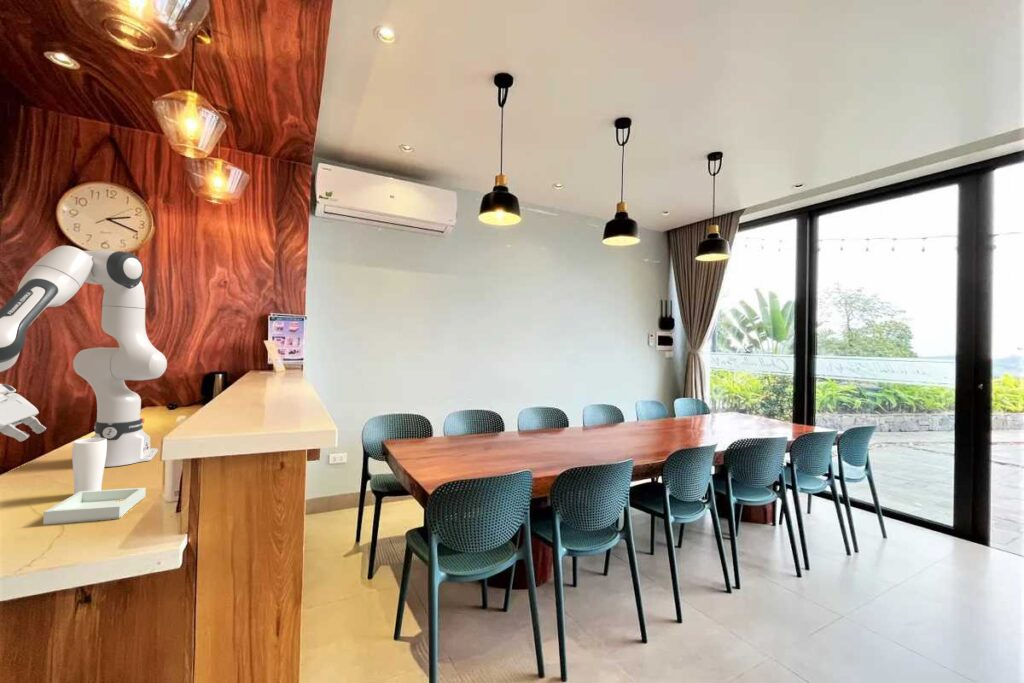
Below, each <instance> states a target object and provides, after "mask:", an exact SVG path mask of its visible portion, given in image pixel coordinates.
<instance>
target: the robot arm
mask: <svg viewBox="0 0 1024 683" xmlns="http://www.w3.org/2000/svg"><path fill="white" fill-rule="evenodd" d="M143 275H144V266H143V263H142V261H141V260H140V258H139V257H138V256H137V255H136V254H133V253H131V252H126V251H121V250H118V251H117V250H115V251H114V250H106V249H96V250H94V249H91V250H84V249H83V250H82V249H80V248H78V247H75V246H71V245H60V246H57V247H55V248H53V249H51V250H50V251H48V252H47V253H46V254H44V255H43V256H42V257H40V258H39V260H37V261H36V262H35V263H33V265H32V266H31V267H30V268H29V269H28V270H27V272H26V273H25V274H24V276H23V277H22V279H21V281H20V282H19V284H18V287H17V291H16V293H14V295H13V296H12V297H11V298H10V299H9V300H8V301H7V302H6V303H5V304H4V305H3V306H2V307H1V308H0V373H2V372H5V371H6V370H8V369H10V368H12V367H13V366H14V365H15V364H16V362H18V361H17V360H18V358H19V356H20V352H21V351H22V350H23V348H24V346H25V343H26V332H27V330H28V328H29V327H30V326H31V325H32V324H33V322H35V320H36V319H37V318H38V317H39V316H40V315H41V314H42V313H43V311H44V310H45V309H46V308H49V307H50V308H52V307H53V308H56V307H61V306H63V305H65V303H66V302H68V301H69V300H71V299H72V298H73V297H74V296H75V294H77V292H78V291H79V290H80V289H81V287H82V286H83V285H84V284H92V285H101V287H102V289H103V296H102V307H101V323H100V324H101V329H102V331H103V332H104V333H105V334H107V335H109V336H110V337H113V338H114V339H115V340H116V342H117V344H118V347H105V346H104V347H103V346H100V347H91V348H86V349H82V350H80V351H79V352H78V353H77V354H76V355H75V356H74V358H73V361H72V366H73V370H74V371H75V373H76V374H77V375H78V376H80V377H81V378H83V379H84V380H85V381H86V382H87V383H88V384H89V385H90V387H91V388H92V391H93V392H94V394H95V395H94V396H95V398H96V410H97V411H96V421H95V422H94V426H93V428H94V433H95V434H94V435H92V436H91V437H90V438H106V439H107V454H106V460H105V467H106V468H107V467H108V468H109V467H118V466H119V467H121V466H127V465H130V464H131V465H132V464H137V463H141V462H148V461H152V460H153V458H154V457H155V455H156V454H157V453H158V452H159V449H158V448H157V447H151V437H150V435H148V434H147V432H146V431H144V430H143V429H144V427H143V424H145V417H141V411H142V410H141V409H142V399H141V396H140V395H139V394H138V393H137V392H135V391H132V390H131V389H129V387H128V386H127V385H126V382H125V381H147V380H155V379H158V378H160V377H161V376H163V374H164V373H165V372H166V370H167V367H168V360H167V358H166V356H165V355H164V354H163V353H162V351H160V350H158V349H157V348H156V347H155V346H154V345H153V344H152V343H151V341H150V339H149V336H148V335H147V329H146V294H145V288H144V283H143V282H142V278H143ZM16 392H17V389H16V388H14V387H13V386H12V385H9V384H4V383H0V433H1V434H2V435H5V436H8V437H10V438H14V439H15V440H17V441H18V442H23V441H26V440H27V439H28V438H30V437H31V436H30V434H29V433H28V432H27V431H25V430H20V429H19V428H17V427H16V426H18V425H21V424H24V425H25V426H28V427H29V428H30V429H31V431H32V432H34V433H35V434H38V435H39V434H41V433H43V432H45V431H46V429H47V427H46V426H44V425H43V424H42V423H41V422H40V421H39V419H38V418H37V417H36V416H37V415H38V414H40V412H39V409H38V408H37V407H36V406H35V405H34V404H32V403H31V402H30V401H29V400H27V399H26V398H25V397H24V396H22V395H21V394H18V393H16ZM105 467H104V468H105Z"/></svg>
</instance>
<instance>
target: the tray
mask: <svg viewBox="0 0 1024 683" xmlns="http://www.w3.org/2000/svg"><path fill="white" fill-rule="evenodd" d="M146 490H147V489H146V487H136V488H135V487H131V488H116V489H101V490H95V491H80V492H78V493H76V494H74V493H73V495H71V496H69V497H68V498H65V499H64V500H62V501H60V502H59V503H57V504H55V505H53V506H52V507H50V508H47V509H46V510H44V511H43V518H42V519H43V521H42V522H43V524H42V525H44V526H46V525H59V524H71V523H84V522H85V523H86V522H87V523H88V522H97V521H98V520H100V521H111V519H113V520H120V519H121V518H122V517H124V516H125V515H126V514H127V513H128V512H127V511H128V510H129V509H130V508H132V507H133V506H134V505H135V504H136V503H138V502H139V501H140V500H141V499H143V498H144V497H145V498H146V492H147V491H146ZM120 499H125V500H123V501H120V502H119V500H120ZM114 500H116V501H117V500H118V501H117V502H116V501H114ZM126 512H127V513H126ZM125 513H126V514H125ZM124 514H125V515H124ZM123 515H124V516H123ZM120 517H121V518H120ZM119 518H120V519H119ZM98 522H99V521H98Z"/></svg>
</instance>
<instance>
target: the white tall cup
mask: <svg viewBox="0 0 1024 683" xmlns="http://www.w3.org/2000/svg"><path fill="white" fill-rule="evenodd" d="M106 454H107V439H106V438H91V437H89V438H81V439H78V440H76V439H75V441H73V443H72V451H71V458H72V459H71V462H72V472H73V473H72V475H73V476H72V477H73V495H74V494H76V493H78V492H80V491H95V490H102V485H103V479H104V478H103V477H104V472H105V460H106Z"/></svg>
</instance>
